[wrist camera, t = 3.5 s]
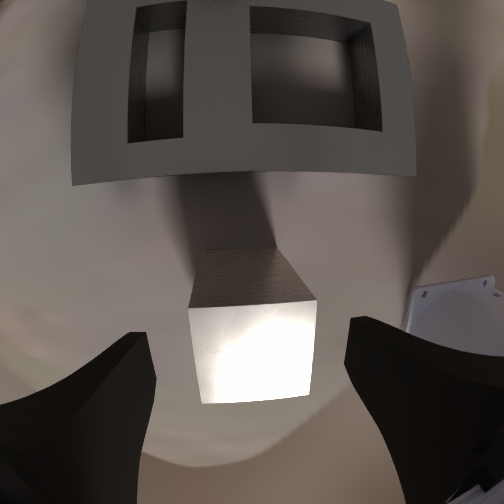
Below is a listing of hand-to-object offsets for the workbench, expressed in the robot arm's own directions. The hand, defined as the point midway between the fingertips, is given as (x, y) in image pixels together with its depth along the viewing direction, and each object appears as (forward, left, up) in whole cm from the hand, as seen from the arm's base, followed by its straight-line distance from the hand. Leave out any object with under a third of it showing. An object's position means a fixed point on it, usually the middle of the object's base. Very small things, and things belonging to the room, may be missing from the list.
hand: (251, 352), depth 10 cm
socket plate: (-1, -11, -7) cm, 13 cm away
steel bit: (0, 0, -7) cm, 7 cm away
